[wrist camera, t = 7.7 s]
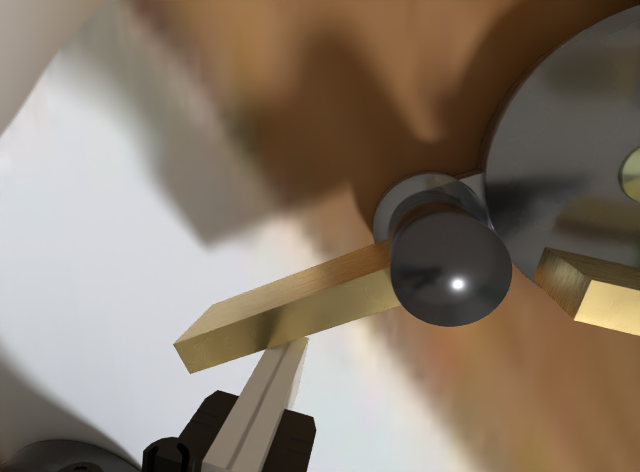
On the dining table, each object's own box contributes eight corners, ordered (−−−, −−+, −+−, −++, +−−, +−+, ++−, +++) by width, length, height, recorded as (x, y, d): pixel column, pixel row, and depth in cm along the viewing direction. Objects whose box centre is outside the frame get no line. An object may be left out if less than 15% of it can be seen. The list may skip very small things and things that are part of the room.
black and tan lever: (454, 177, 16) (489, 198, 11) (482, 251, 17) (527, 305, 11) (215, 273, 19) (151, 326, 14) (246, 333, 20) (196, 405, 15)
